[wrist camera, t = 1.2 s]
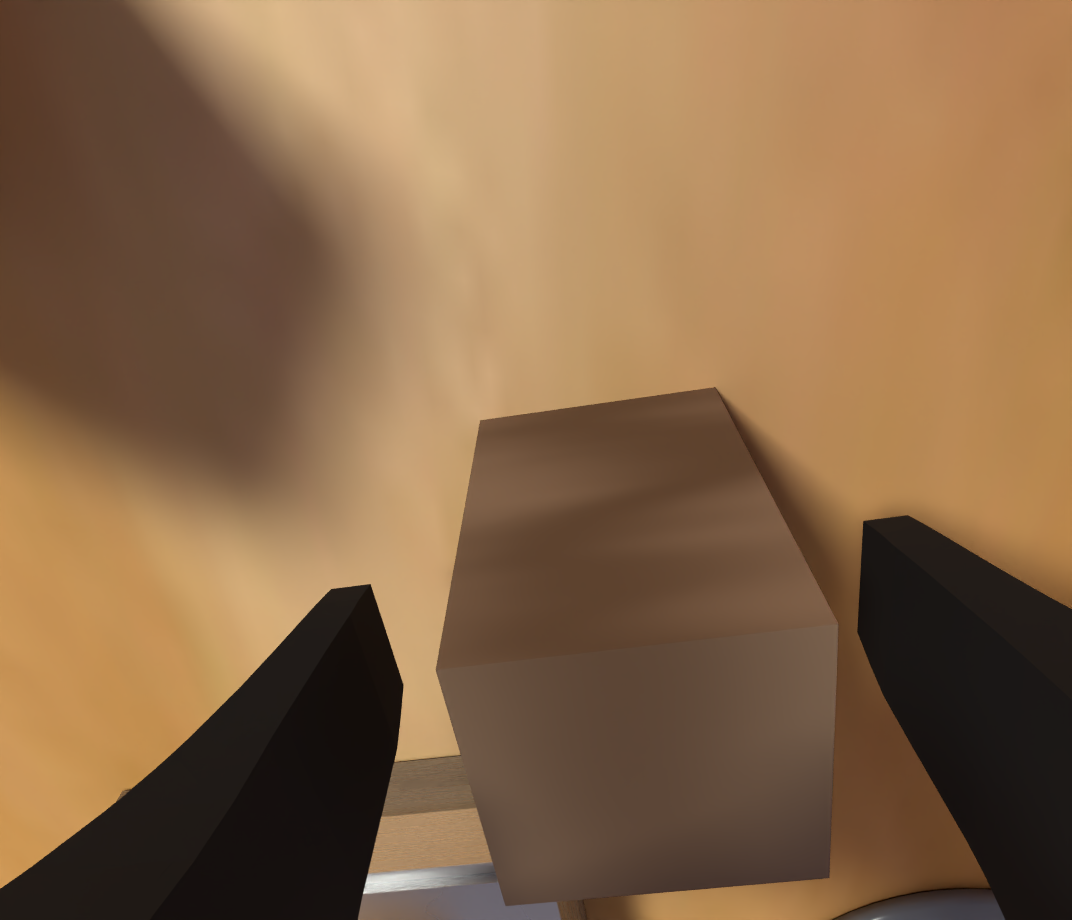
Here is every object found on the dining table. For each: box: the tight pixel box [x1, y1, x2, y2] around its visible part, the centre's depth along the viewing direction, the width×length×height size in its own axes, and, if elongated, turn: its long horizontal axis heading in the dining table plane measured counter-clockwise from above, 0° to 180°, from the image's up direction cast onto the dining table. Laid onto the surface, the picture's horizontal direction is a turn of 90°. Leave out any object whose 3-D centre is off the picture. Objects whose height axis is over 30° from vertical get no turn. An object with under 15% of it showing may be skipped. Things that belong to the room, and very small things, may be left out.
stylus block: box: [436, 387, 838, 906], centre depth 11 cm, size 4×4×6 cm
